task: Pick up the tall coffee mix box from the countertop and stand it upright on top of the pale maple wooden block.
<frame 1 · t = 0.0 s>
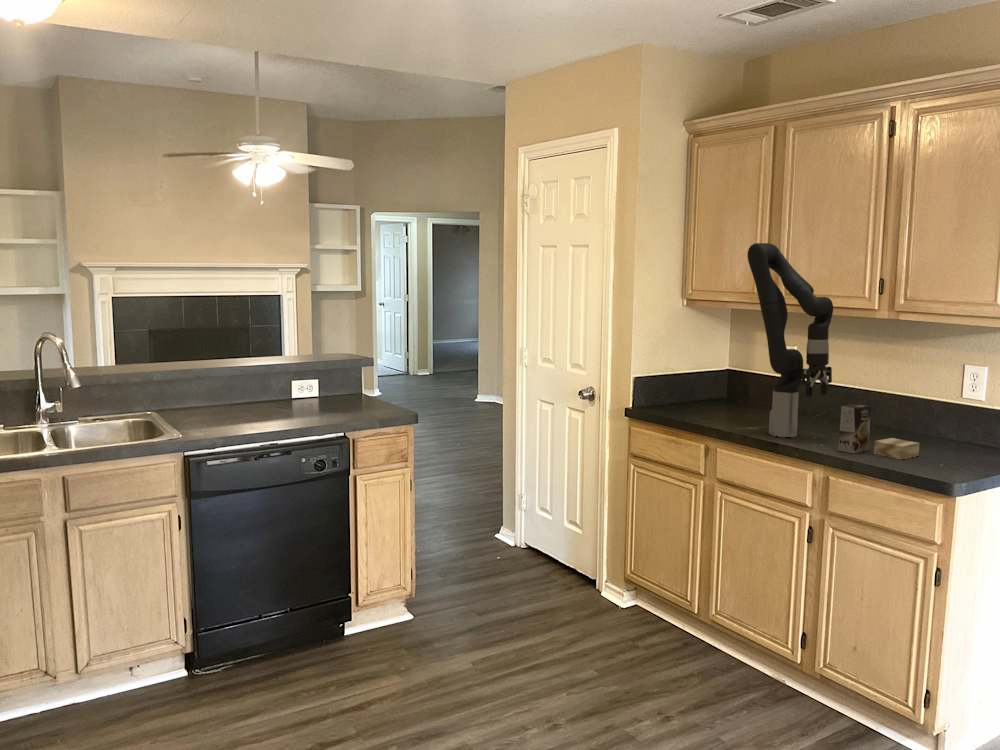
hand: (816, 395, 287), 17 cm above the counter, tool pointing down, fingers open, 8 cm apart
maple block: (896, 456, 268), on the counter
coffee box: (853, 451, 275), on the counter
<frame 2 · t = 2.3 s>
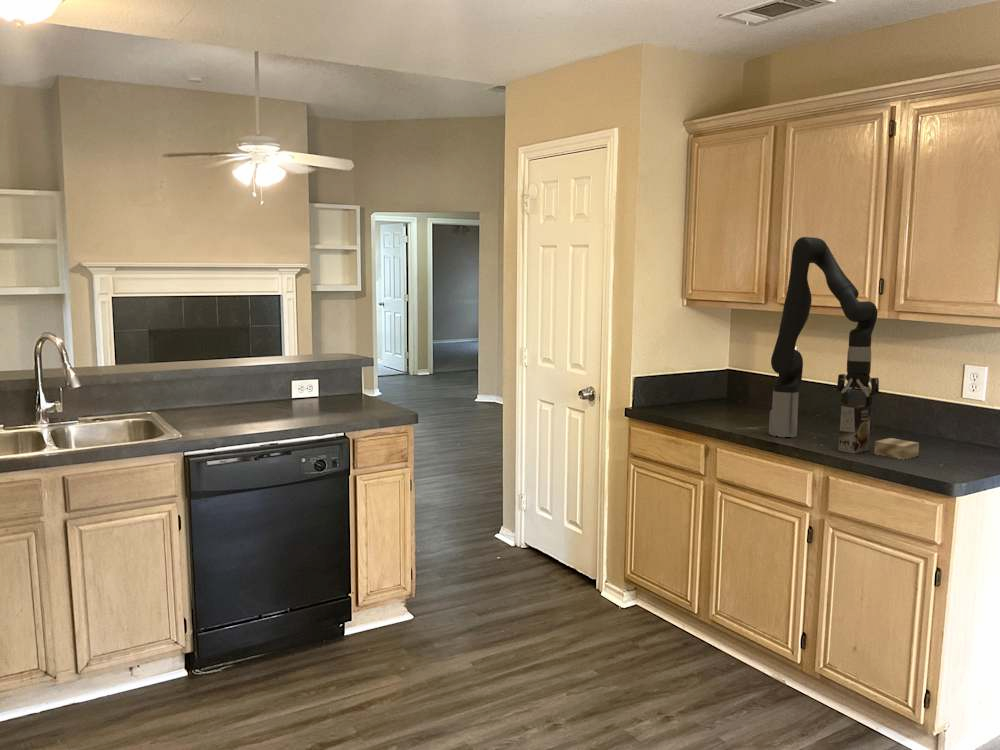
hand: (856, 405, 273), 16 cm above the counter, tool pointing down, fingers open, 8 cm apart
nothing on the counter moved.
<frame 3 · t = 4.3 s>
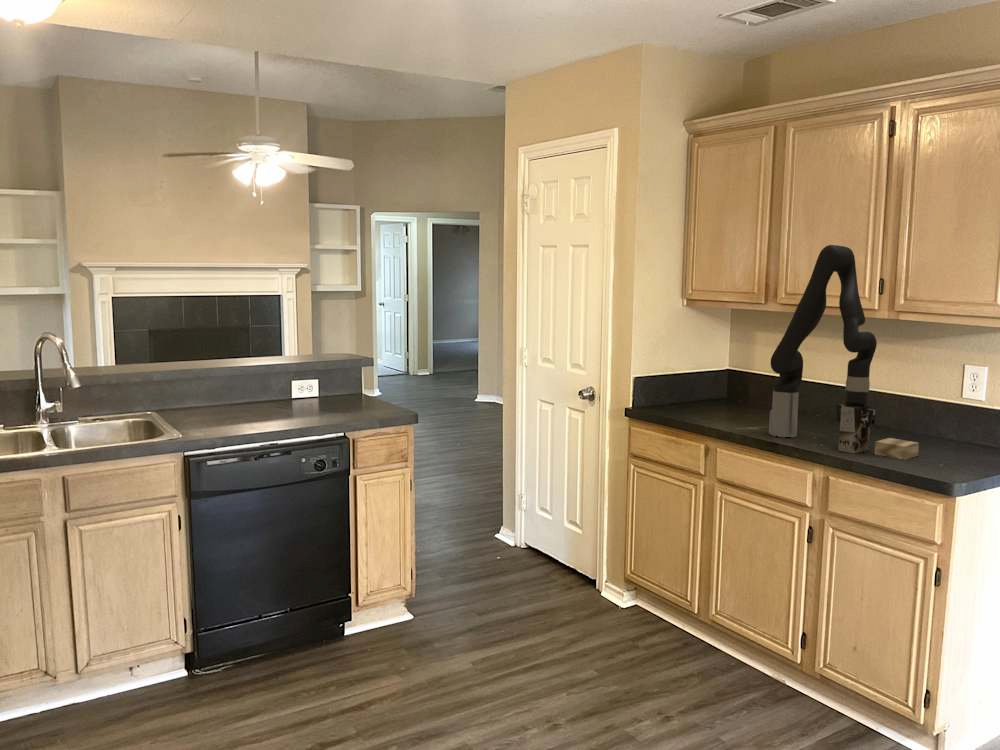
hand: (854, 436, 274), 5 cm above the counter, tool pointing down, fingers closed on coffee box, 6 cm apart
coffee box: (853, 451, 275), on the counter, touching gripper
everything else where it was.
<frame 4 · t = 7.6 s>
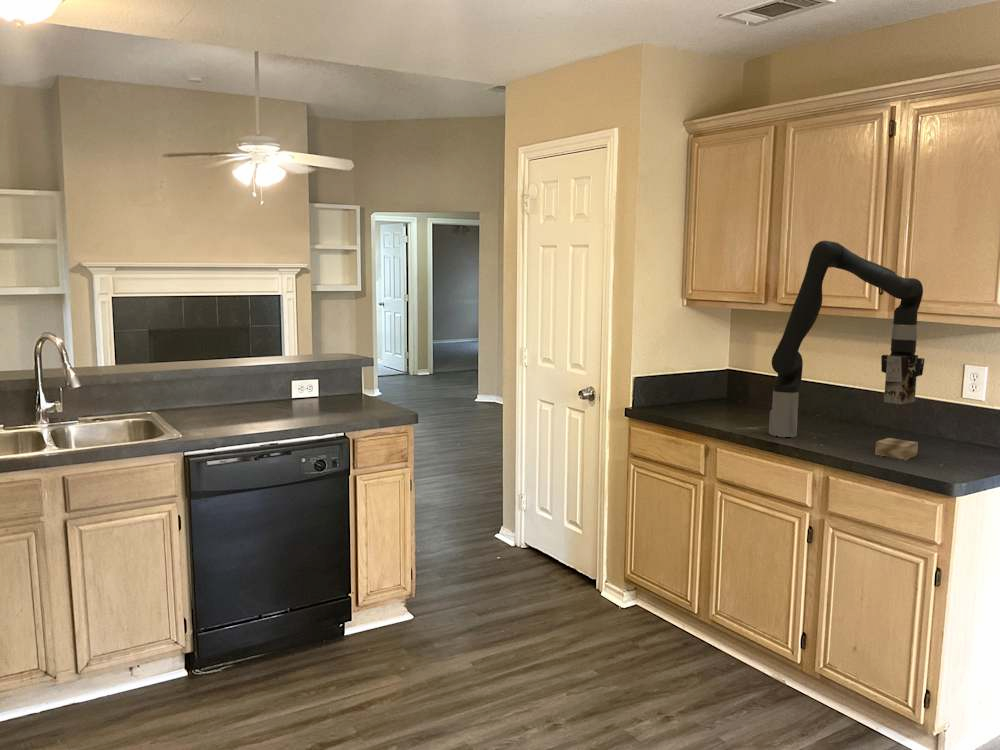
hand: (900, 386, 265), 24 cm above the counter, tool pointing down, fingers closed on coffee box, 6 cm apart
coffee box: (899, 402, 266), point 18 cm above the counter, touching gripper
everything else where it was.
when the fingers open (12 cm above the counter, at t = 10.8 s): coffee box drops 2 cm, point 4 cm above the counter.
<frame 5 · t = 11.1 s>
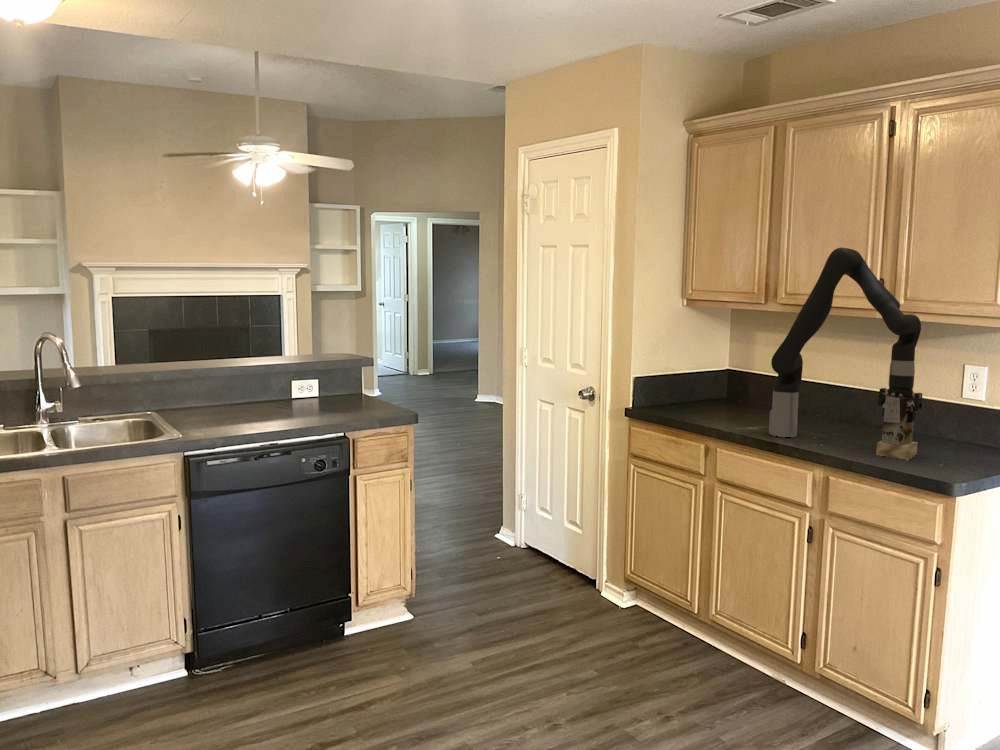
hand: (898, 420, 267), 12 cm above the counter, tool pointing down, fingers open, 8 cm apart
coffee box: (897, 442, 268), point 4 cm above the counter
everything else where it was.
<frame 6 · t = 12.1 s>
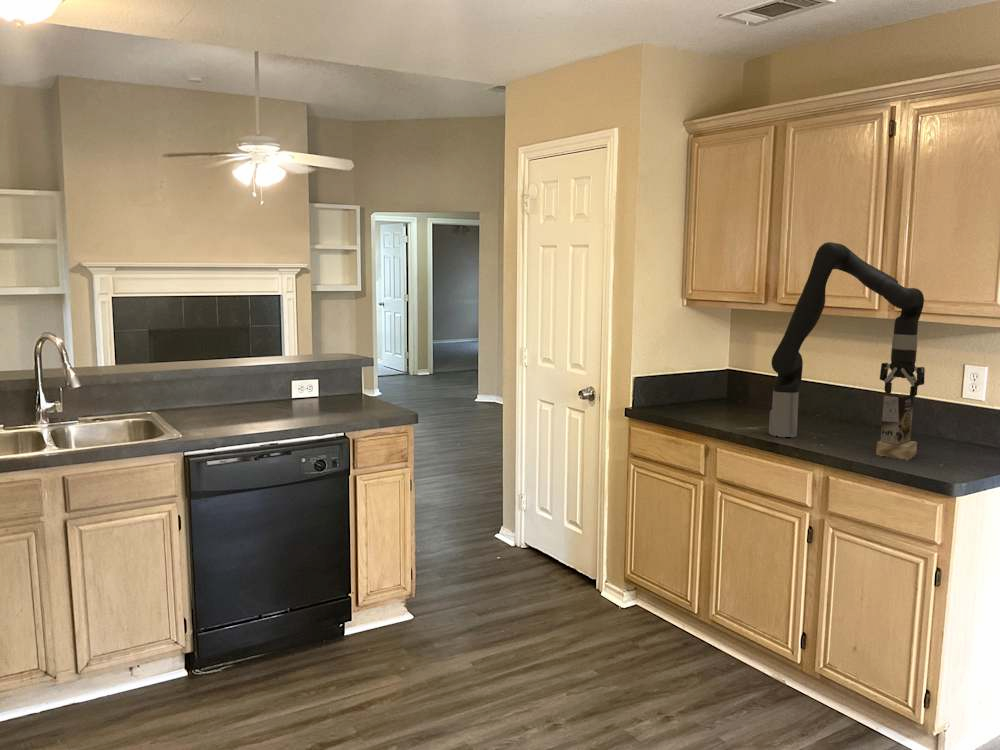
hand: (900, 395, 265), 21 cm above the counter, tool pointing down, fingers open, 8 cm apart
maple block: (896, 456, 268), on the counter, touching coffee box
coffee box: (895, 442, 268), point 4 cm above the counter, touching maple block
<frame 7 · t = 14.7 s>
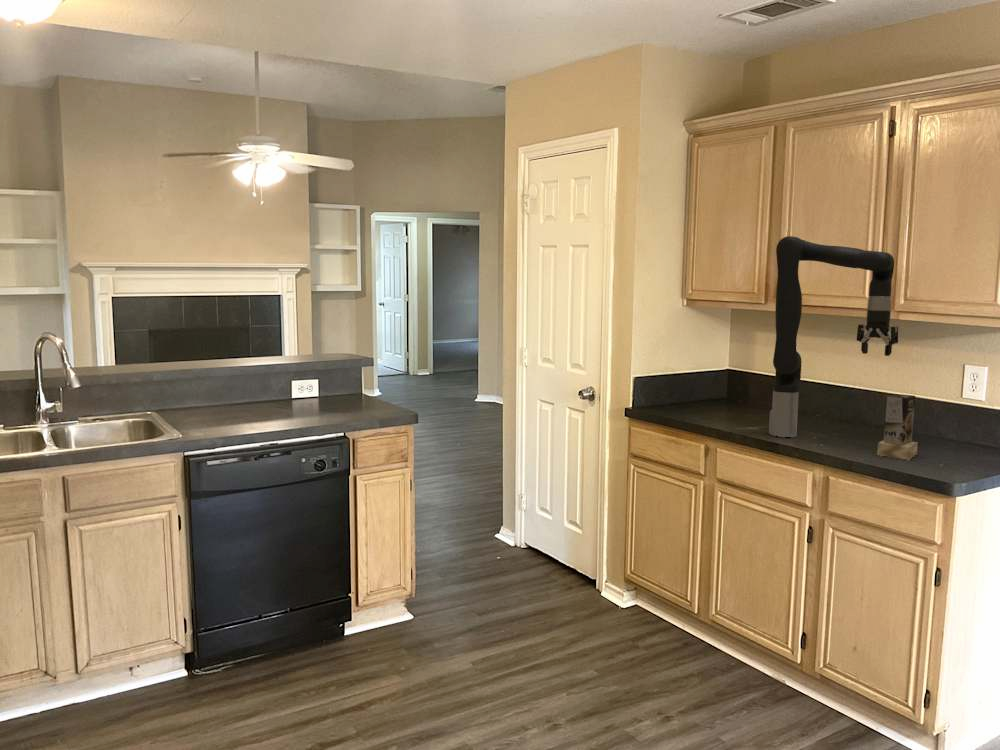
hand: (875, 354, 279), 33 cm above the counter, tool pointing down, fingers open, 8 cm apart
coffee box: (897, 442, 268), point 4 cm above the counter, touching maple block
everything else where it was.
at the end: coffee box 0.9 cm off-centre on the maple block, point 5.0 cm above the maple block's base; coffee box tilted 2°; the gripper is holding nothing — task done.
